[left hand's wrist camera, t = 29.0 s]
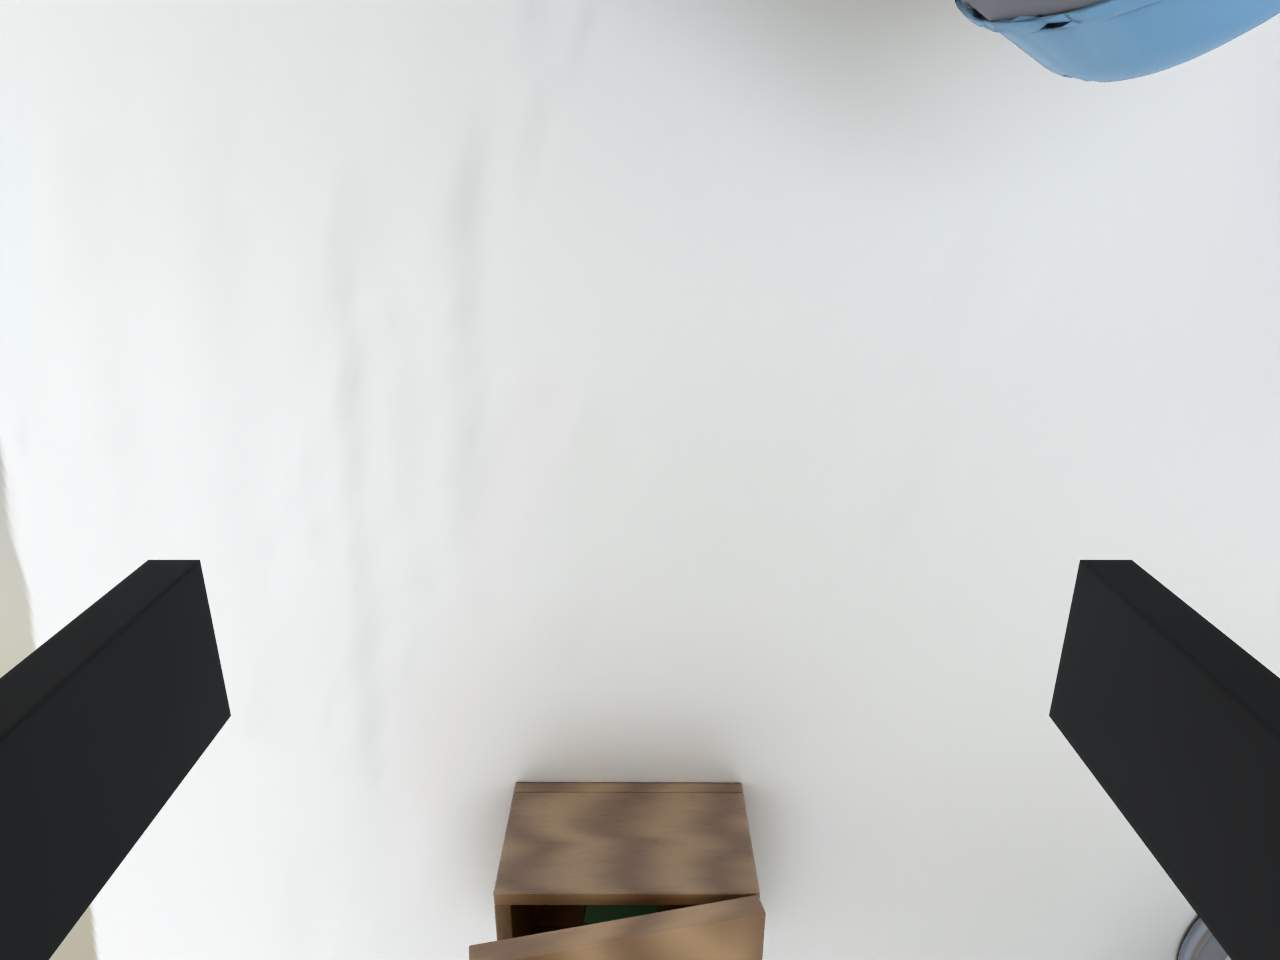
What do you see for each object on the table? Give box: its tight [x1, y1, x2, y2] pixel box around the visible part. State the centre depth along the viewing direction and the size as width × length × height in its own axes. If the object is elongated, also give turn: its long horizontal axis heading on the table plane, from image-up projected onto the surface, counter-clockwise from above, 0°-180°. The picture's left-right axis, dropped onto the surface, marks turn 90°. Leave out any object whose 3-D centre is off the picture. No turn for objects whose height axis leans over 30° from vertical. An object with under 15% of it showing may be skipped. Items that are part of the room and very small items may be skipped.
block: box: [583, 905, 658, 924], centre depth 52 cm, size 4×4×4 cm
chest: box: [494, 783, 760, 941], centre depth 51 cm, size 14×12×9 cm
